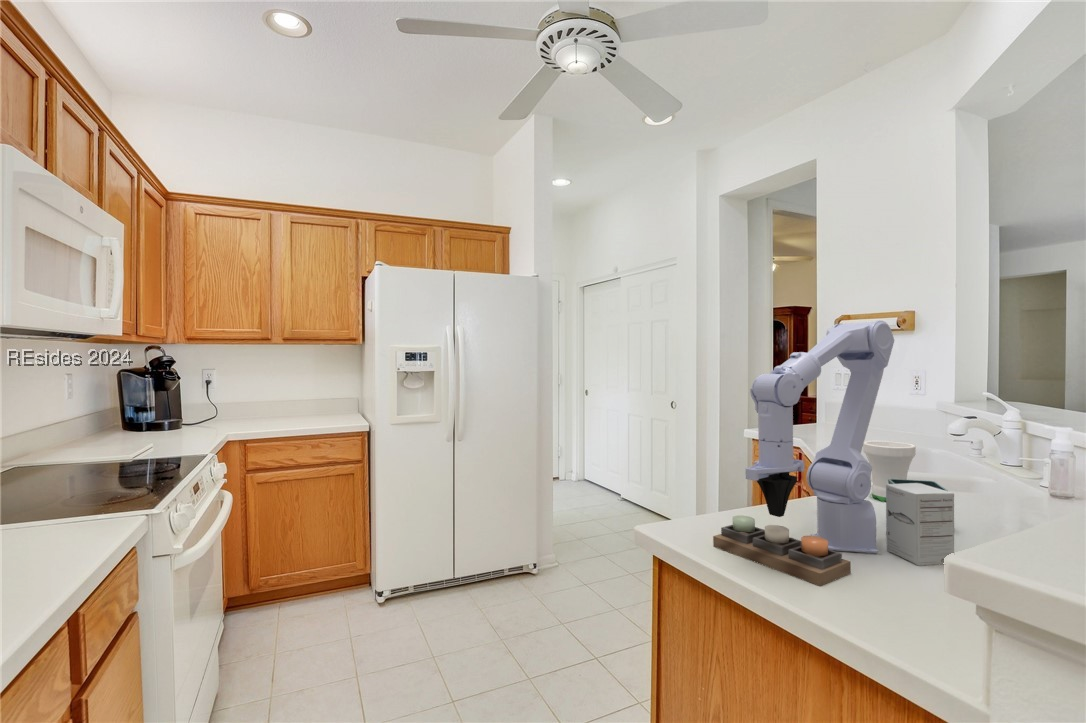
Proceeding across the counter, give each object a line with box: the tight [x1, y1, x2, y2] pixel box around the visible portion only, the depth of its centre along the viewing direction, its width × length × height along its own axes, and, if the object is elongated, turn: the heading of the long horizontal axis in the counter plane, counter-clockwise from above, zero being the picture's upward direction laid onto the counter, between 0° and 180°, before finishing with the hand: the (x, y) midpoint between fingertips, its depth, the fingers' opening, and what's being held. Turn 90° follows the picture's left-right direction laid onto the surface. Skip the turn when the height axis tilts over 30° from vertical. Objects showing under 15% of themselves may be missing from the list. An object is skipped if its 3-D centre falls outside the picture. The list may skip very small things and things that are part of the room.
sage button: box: [732, 515, 756, 532], centre depth 98 cm, size 4×4×2 cm
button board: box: [712, 524, 852, 587], centre depth 92 cm, size 21×9×4 cm, turn 31°
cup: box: [862, 440, 917, 502], centre depth 131 cm, size 11×11×14 cm
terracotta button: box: [800, 535, 828, 556], centre depth 86 cm, size 4×4×2 cm
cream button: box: [764, 524, 790, 543], centre depth 92 cm, size 4×4×2 cm
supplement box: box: [885, 483, 955, 566], centre depth 92 cm, size 7×7×13 cm
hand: (776, 515), depth 92 cm, fingers closed
